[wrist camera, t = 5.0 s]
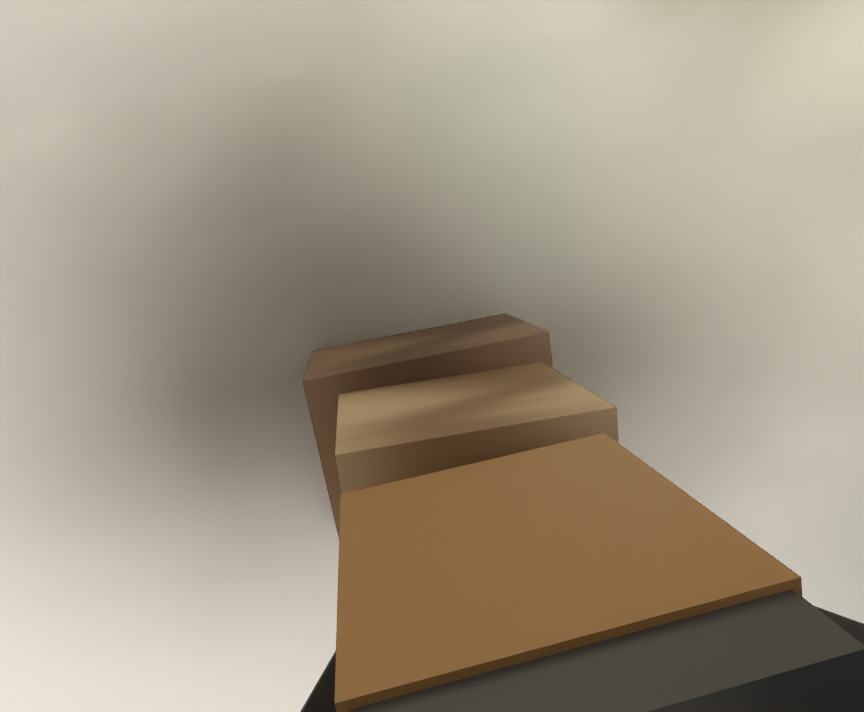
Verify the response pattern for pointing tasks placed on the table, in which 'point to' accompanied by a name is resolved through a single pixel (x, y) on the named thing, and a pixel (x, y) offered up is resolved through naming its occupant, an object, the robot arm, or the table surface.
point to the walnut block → (411, 369)
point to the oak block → (461, 422)
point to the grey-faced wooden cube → (572, 597)
